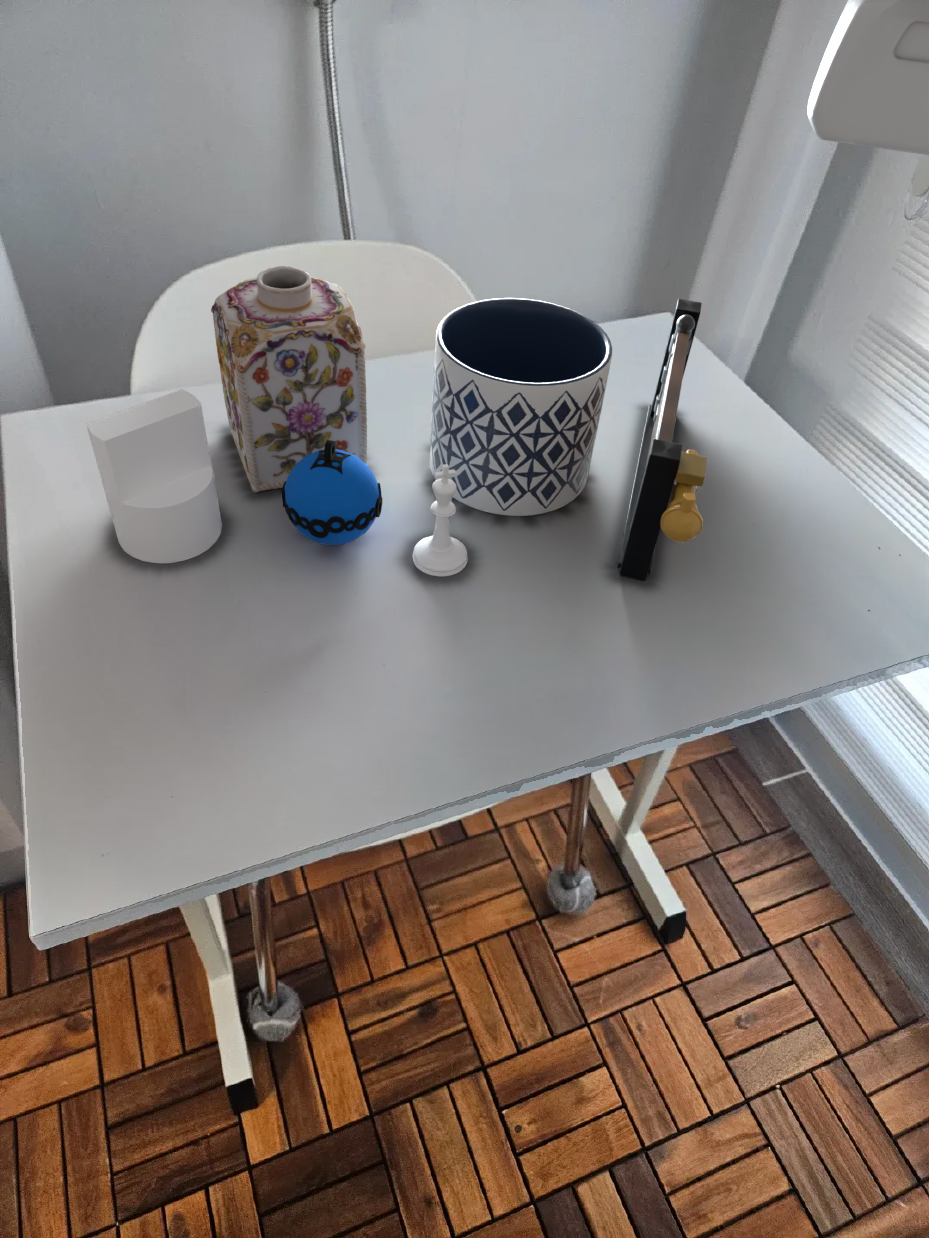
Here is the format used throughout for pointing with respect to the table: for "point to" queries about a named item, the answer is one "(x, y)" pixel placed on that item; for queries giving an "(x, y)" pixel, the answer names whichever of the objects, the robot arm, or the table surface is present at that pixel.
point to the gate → (672, 381)
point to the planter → (517, 403)
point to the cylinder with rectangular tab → (159, 478)
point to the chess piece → (441, 533)
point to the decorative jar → (290, 371)
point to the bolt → (682, 513)
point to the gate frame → (657, 477)
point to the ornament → (331, 496)
